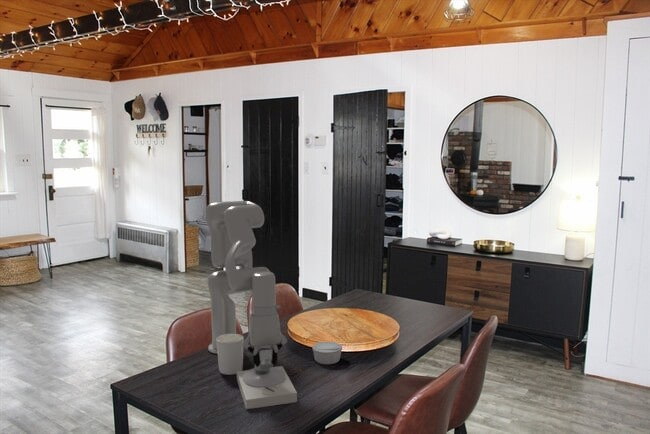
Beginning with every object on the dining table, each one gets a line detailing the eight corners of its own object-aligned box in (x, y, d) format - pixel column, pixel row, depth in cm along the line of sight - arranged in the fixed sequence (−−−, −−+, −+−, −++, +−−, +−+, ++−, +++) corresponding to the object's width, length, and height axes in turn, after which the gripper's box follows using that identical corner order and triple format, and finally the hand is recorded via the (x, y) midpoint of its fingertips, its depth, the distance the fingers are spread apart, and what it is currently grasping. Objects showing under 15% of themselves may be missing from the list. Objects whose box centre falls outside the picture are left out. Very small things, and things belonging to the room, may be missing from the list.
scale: (236, 379, 181) (236, 368, 180) (282, 374, 185) (282, 363, 185) (246, 409, 160) (245, 396, 159) (297, 402, 164) (297, 389, 164)
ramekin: (325, 368, 191) (325, 354, 190) (306, 359, 199) (306, 345, 199) (348, 360, 198) (348, 347, 197) (329, 352, 206) (329, 339, 206)
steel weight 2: (253, 369, 180) (253, 352, 179) (268, 367, 181) (267, 351, 180) (255, 375, 175) (255, 358, 174) (270, 373, 176) (270, 356, 176)
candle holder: (218, 377, 183) (217, 344, 182) (216, 366, 192) (215, 334, 191) (246, 374, 186) (245, 341, 184) (243, 363, 195) (242, 332, 194)
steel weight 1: (254, 365, 171) (254, 347, 171) (266, 361, 175) (266, 343, 174) (263, 370, 168) (263, 352, 167) (276, 365, 171) (276, 348, 170)
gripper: (287, 304, 175) (288, 357, 177) (236, 309, 171) (237, 363, 173) (292, 311, 168) (293, 365, 170) (239, 315, 163) (240, 372, 165)
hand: (265, 363), depth 171 cm, fingers closed on steel weight 1, 5 cm apart
